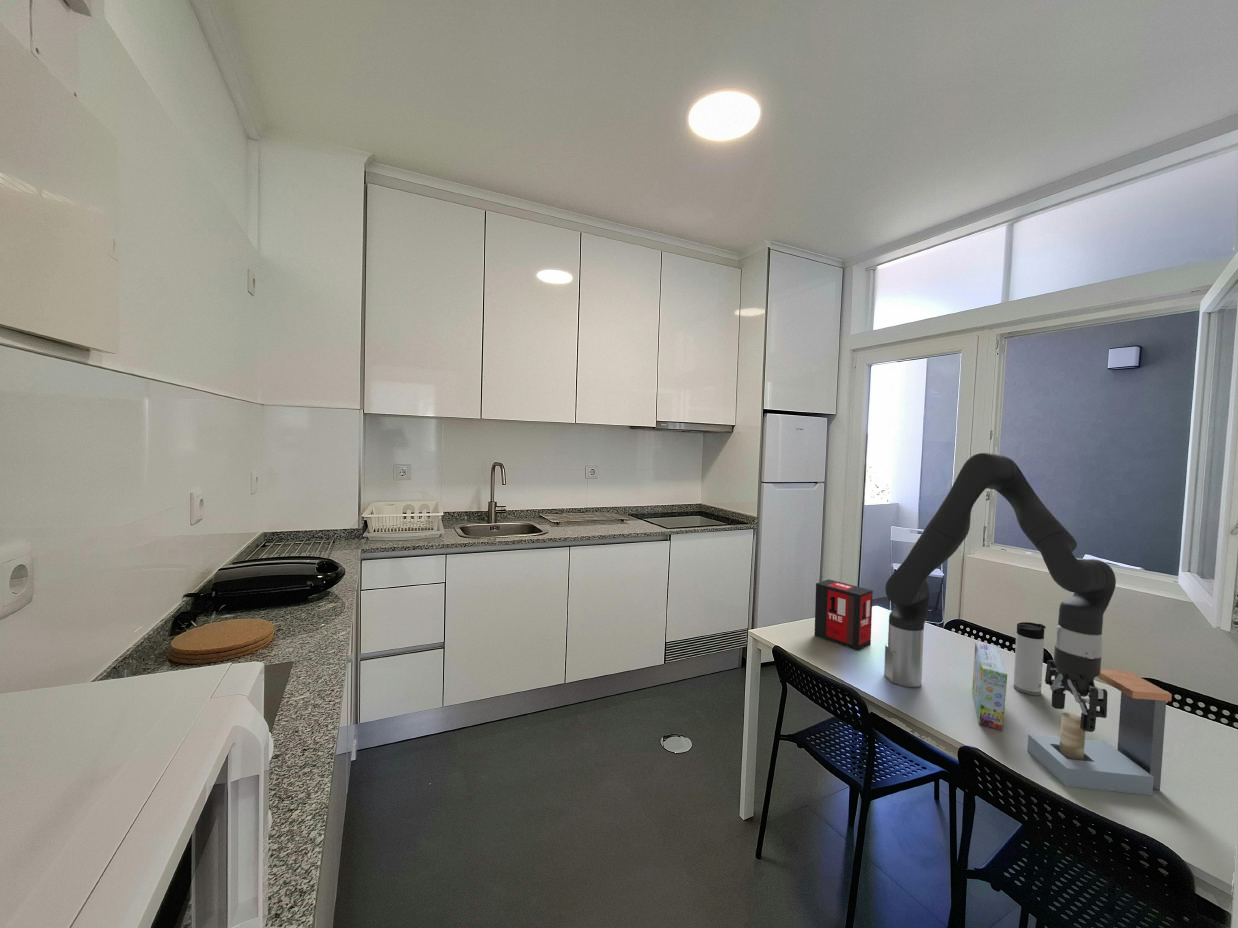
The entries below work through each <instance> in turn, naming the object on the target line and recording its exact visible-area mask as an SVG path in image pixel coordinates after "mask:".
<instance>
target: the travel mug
mask: <svg viewBox="0 0 1238 928" xmlns="http://www.w3.org/2000/svg"><path fill="white" fill-rule="evenodd" d="M1045 630H1046V626H1045V625H1044V624H1042V623H1036V622H1035V623H1034V622H1028V621H1026V622H1025V621H1024V622H1018V623H1016V631H1015V632H1016V633H1015V648H1014V649H1015V650H1014V651H1015V653H1014V669H1013V671H1014V672H1013V685H1012V687H1013V688H1014V689H1015V690H1016V691H1018V692H1020V693H1023V694H1025V695H1030V696H1039V695H1042V682H1043V667H1044V650H1045V649H1044V647H1045Z"/></svg>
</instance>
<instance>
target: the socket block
mask: <svg viewBox="0 0 1238 928" xmlns="http://www.w3.org/2000/svg"><path fill="white" fill-rule="evenodd" d="M1059 746H1060V736H1055V735H1054V736H1053V735H1044V734H1042V735H1041V734H1032V733H1028V735H1027V748H1026V749H1027V751H1028V753H1030V754H1031V755H1032V756H1033V757H1034V758H1035V759H1036V760H1037V761H1038V762H1039V763H1040V764H1041V765H1042V766H1044V767H1045V768H1046V769H1047V770H1048V771H1049V772H1050V773H1051V774H1052V775H1053V776H1054V777H1055V778H1057V780H1059V782H1061V783H1062V785H1064V786H1065V787H1069V788H1081V789H1089V790H1101V791H1107V792H1108V791H1109V792H1117V793H1127V794H1135V795H1143V796H1144V795H1146V796H1153V794H1154V793H1153V791H1154V790H1153V780H1154V777H1153V776H1152V775H1150V774H1149V773H1148V772H1146V771H1145V770H1144V769H1142V768H1141V767H1140V766H1138V765H1137V764H1135V763H1134V762H1133V761H1131V760H1130V759H1129V758H1127V757H1126V756H1125V755H1123V754H1122V753H1121V752H1119V751H1118V750H1117V749H1116V748H1115V747H1114V746H1112V745H1111V744H1110V743H1108V742H1107V741H1105V740H1099V739H1095V740H1094V739H1087V738H1085V746H1084V761H1081V760H1071V759H1066V758H1065V757H1064V756H1063V755H1062V754H1061V753H1059Z"/></svg>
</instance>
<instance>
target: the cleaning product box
mask: <svg viewBox="0 0 1238 928" xmlns="http://www.w3.org/2000/svg"><path fill="white" fill-rule="evenodd" d="M814 603H815V605H814V606H815V608H814V637H817V638H821V639H823V640H825V641H829V642H831V643H834V644H836V645H839V646H842V647H845V648H848V649H851V650H853V651H856V652H860V651H862V650H863V649H865V648H868V647H869V646H871V644H872V643H871V642H872V640H871V639H872V618H873V617H872V615H873V589H868V588H865V587H861V586H857V585H853V584H848V583H845V582H841V581H837V580H832V579H826V580H821V581H819V582H817V583H815V601H814Z"/></svg>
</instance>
